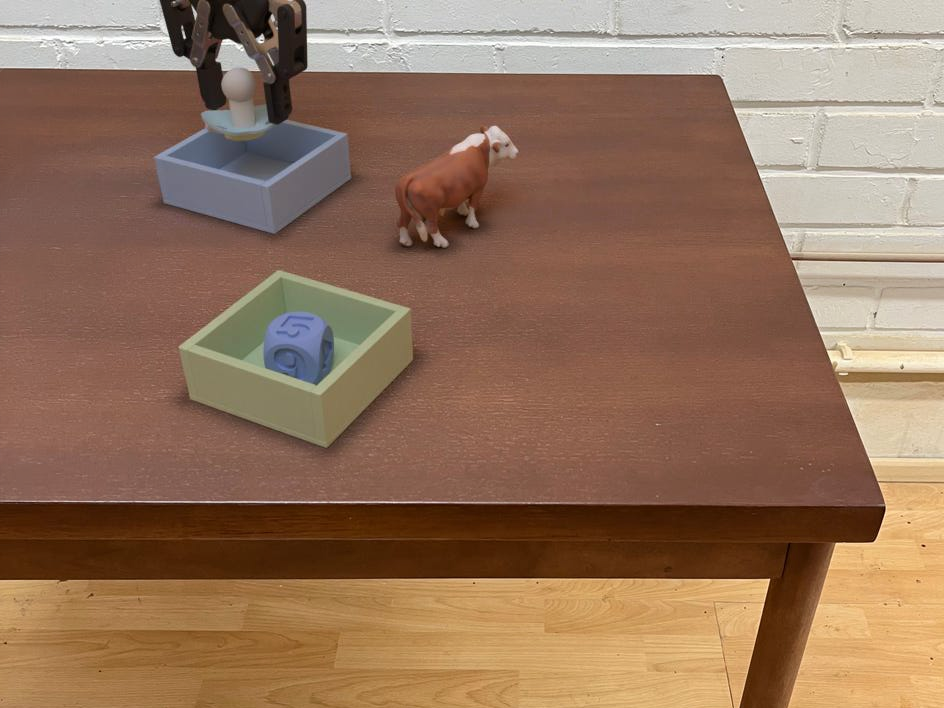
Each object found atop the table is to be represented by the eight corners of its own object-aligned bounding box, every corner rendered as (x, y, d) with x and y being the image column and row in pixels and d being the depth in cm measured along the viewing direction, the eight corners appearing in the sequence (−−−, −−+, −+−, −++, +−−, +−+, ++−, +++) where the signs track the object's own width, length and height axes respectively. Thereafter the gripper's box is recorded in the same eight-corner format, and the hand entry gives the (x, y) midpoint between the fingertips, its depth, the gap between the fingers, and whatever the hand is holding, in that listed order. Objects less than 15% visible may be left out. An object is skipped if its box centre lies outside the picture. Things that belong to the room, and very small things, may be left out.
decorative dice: (336, 359, 74) (331, 313, 71) (322, 392, 71) (316, 345, 69) (283, 354, 75) (277, 308, 72) (267, 386, 72) (259, 339, 69)
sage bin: (189, 399, 71) (177, 346, 68) (285, 319, 79) (278, 269, 76) (326, 448, 67) (320, 395, 64) (413, 359, 75) (411, 308, 72)
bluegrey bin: (163, 203, 93) (153, 156, 90) (246, 152, 102) (239, 108, 99) (274, 234, 89) (267, 186, 86) (351, 178, 98) (347, 133, 95)
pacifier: (197, 125, 93) (210, 150, 89) (185, 56, 89) (198, 78, 85) (275, 115, 95) (291, 139, 91) (267, 46, 91) (283, 68, 87)
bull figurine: (523, 213, 93) (527, 126, 87) (416, 265, 85) (412, 174, 80) (489, 197, 95) (491, 111, 89) (382, 246, 88) (376, 157, 82)
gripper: (319, -94, 80) (337, 114, 91) (175, -115, 84) (210, 85, 95) (262, -73, 75) (289, 145, 86) (113, -96, 79) (157, 113, 91)
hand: (247, 113), depth 91 cm, fingers closed on pacifier, 6 cm apart
